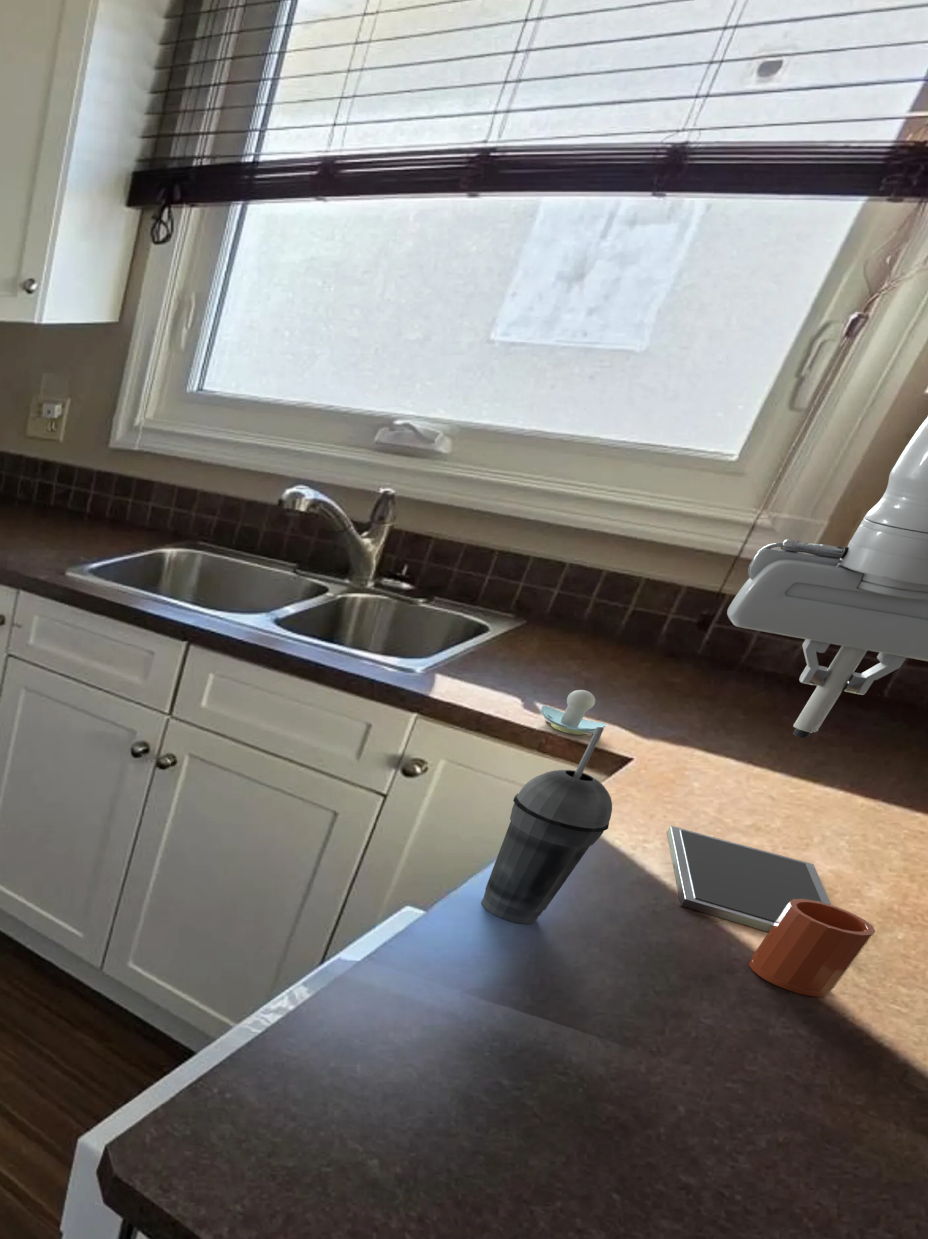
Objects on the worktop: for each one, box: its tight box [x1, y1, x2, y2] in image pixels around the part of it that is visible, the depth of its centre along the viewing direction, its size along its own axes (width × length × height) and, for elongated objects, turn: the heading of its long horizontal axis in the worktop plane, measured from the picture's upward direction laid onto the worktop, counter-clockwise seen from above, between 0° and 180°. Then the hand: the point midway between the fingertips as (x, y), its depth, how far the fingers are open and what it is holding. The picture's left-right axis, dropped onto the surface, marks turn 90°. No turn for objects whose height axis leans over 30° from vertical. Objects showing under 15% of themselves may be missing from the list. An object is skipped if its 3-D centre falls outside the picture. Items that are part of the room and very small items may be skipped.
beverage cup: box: [481, 727, 613, 925], centre depth 97 cm, size 7×7×20 cm
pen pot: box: [748, 899, 876, 998], centre depth 92 cm, size 5×5×7 cm
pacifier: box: [540, 689, 607, 736], centre depth 143 cm, size 7×6×6 cm
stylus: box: [792, 645, 868, 739], centre depth 105 cm, size 2×2×14 cm
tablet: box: [666, 825, 832, 933], centre depth 108 cm, size 12×20×1 cm, turn 141°
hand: (830, 687), depth 105 cm, fingers closed on stylus, 2 cm apart
